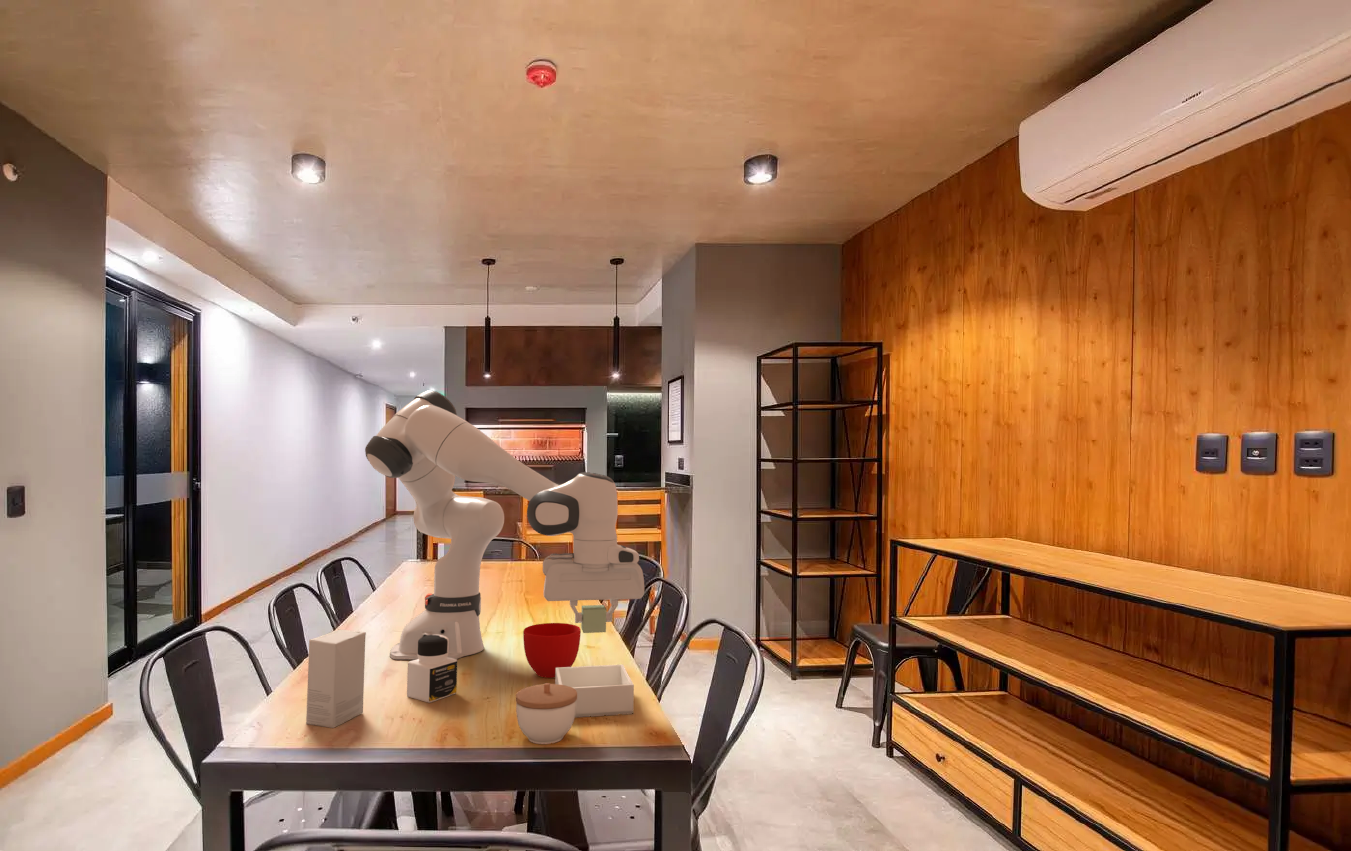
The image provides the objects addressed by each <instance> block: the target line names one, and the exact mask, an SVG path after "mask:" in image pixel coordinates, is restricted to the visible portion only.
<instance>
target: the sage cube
mask: <svg viewBox="0 0 1351 851" xmlns="http://www.w3.org/2000/svg"><path fill="white" fill-rule="evenodd" d="M581 612H582V614H583V618H582V619H583V623H580V626H581V627H580V629H581V632H582V634H594V633H606V632H607V622H606V612H607V608H606V607H605V605H604V604H593V605H592V604H591V605H589V604H588V605H587V604H586V605H581Z"/></svg>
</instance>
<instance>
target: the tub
mask: <svg viewBox="0 0 1351 851" xmlns="http://www.w3.org/2000/svg"><path fill="white" fill-rule="evenodd" d="M554 678H555V680H554V682H555V683H554V684H559V685H565V686H569V687H572V688H574V689H575V690H576V691H577V700H576V713H575V718H586V717H587V718H588V717H589V718H590V716H591V717H602V716H603V717H604V715H606V716H619V715H618V714H622V715H633V714H634V703H635V702H634V700H635V699H634V696H635V695H634V690H635V689H634V688H635V685H634V682H633V680H632V678H631V677H630V675H629V674H628V672H627V669H626V668H625V665H624V664H622V663H621V664H604V665H600V664H599V665H585V666H584V665H583V666H582V665H581V666H571V667H559V668H556V671H555V677H554ZM632 713H633V714H632Z"/></svg>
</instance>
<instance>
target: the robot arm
mask: <svg viewBox="0 0 1351 851" xmlns="http://www.w3.org/2000/svg"><path fill="white" fill-rule="evenodd" d="M364 452H365V457H366V459H367V461H368V462H369V464H370V465H371V467H372V468H373V469H374V470H375V471H377V472H378V474H379V473H380V474H381V475H383V476H385V477H387V478H389V479H390V478H392V479H393V478H394V479H399V480H400V483H402V484H403V485H404V487H405V488H406V490H407V491H408V492H409V494H410V495H411V496H412V497H413V500H414V501H415V504H416V506H415V508H414V511H413V523H414V525H415V528H416V529H417V531H418V532H420V533H422V534H424V535H427V536H429V537H433V538H438V539H450V540H451V541H450V546H449V548H448V551H447V553H446V554H445V555H443V556H441V557H440V558H439V559H438V560H437V561H436V563H435V564H434V572H433V573H434V577H433V579H434V580H433V593H431V592H430V593H427V594H426V595H425V597H424V610H423V611H422V612H421V613H420V614H418V615H416V616H415V617H414V618H412V619H411V620H410V621H408V623H407V624H406V625H404V628H402V631H401V634H400V639H399V643H396V644H394V645H393V646H392V647H391V648H390V651H389V657H390V658H391V659H392V660H416V659H419V658H418V640H419V639H420V638H422V637H424V636H427V635H443V636H446V637H447V638H448V639H449V645H448V656H447V657H449V658H453V659H457V660H459V659H460V658H463V657H466V656H471V655H475V654H477V653H480V652H481V651H483V650H484V649H485V645H484V641H483V638H482V637H483V636H482V631H481V626H480V625H481V623H480V614H481V610H482V609H481V608H482V607H481V606H482V597H481V592H480V577H481V576H480V575H481V574H480V573H481V564H482V560H483V556H484V554H485V551H486V550H487V548H488V546H489V544H490V542H491V541H492V540H494V539H495V538H496V537H497V536H498V535H499V534H500V533H501V531H502V530H503V527H504V525H505V524H504V523H505V513H504V510H503V507H502V506H501V505H500V503H498V502H497V501H494V500H493V499H492V500H491V499H488V498H485V497H482V496H467V495H466V496H465V495H459V494H456V493H455V492H454V491H453V488H454V485H455V481H456V477H457V478H458V479H462V480H464V481H468V482H475V483H476V482H477V483H483V484H484V483H485V484H492V485H497V486H501V487H504V488H507V489H509V490H510V491H513V492H514V493H516V494H518V496H521V497H522V498H523V499H526V500H527V501H528V504H527V507H526V508H527V509H526V519H527V521H528V524H529V526H530V527H531V528H532V529H533V530H534V531H535V532H537V533H538V534H540V535H543V536H547V537H556V536H559V535H564V534H567V533H570V534H572V535H573V541H572V542H573V544H572V548H573V549H572V550H573V552H569V553H567V552H566V553H550V555H548V556H546V557H544V559H543V561H542V574H543V575H544V576H545V578H544V582H543V583H544V584H543V598H544V599H545V600H546V601H547V602H560V601H561V602H566V601H567V602H569V605H570V608H571V609H572V611H573V613H574V623H575V624H581V623H583V619H582V618H583V614H582V611H581V612H578V610H577V608H576V607H577V606H578V605H579V604H578V601H599V600H600V601H604V600H605V601H606V600H608V601H609V604H610V608H608V611H606V623H612V622H613V614H614V613H615V611H616V609H617V607H618V606H619V600H640V599H642V597H643V596H644V595H645V579H644V572H643V569H642V567H641V565H639V563H638V562H639V561H640V555H639V552H637V551H636V550H635V549H633V548H630V547H627V546H625V545H620V544H618V535H617V530H616V525H617V524H616V523H617V521H618V520H617V519H618V514H619V512H618V493H617V486H616V483H615V482H614V480H613V479H612V478H611V477H609V476H607V475H604V474H600V473H596V472H595V473H594V472H586V471H585V472H580V473H578V474H577V475H576V476H575V477H573V478H572V479H569V480H568V481H566V482H564V483H558V482H556V481H554V480H551V479H550V478H548V477H546V476H545V475H543V474H542V473H541V472H538V471H537V470H535V469H533V468H532V467H530V466H528V465H527V464H525V463H523V462H522V461H520V460H519V459H518V458H516V457H515V456H514V455H512V454H511V453H510V452H508V451H507V450H505V449H504V448H502V447H501V446H500V445H499V444H498V443H497V442H495V441H494V440H493V439H492V438H490V437H489V436H488V435H487V434H485V433H484V432H482V431H481V429H479V428H478V427H476V426H474V425H473V424H471V423H470V422H468V421H467V420H465V419H463V418H462V417H460V416H459V415H458V414H457V409H456V407H455V405H453V403H452V402H451V400H449V398H447V397H446V396H445V395H443V394H442V393H441V392H438V391H435V390H429V389H428V390H425V391H423V392H421V393H419V394H418V395H416V396H415V397H414V398H413V400H411V401H410V402H408V403H407V404H406V405H404V406H403V407H402V408H400V409H399V410H398V411H397V412H396V413H395V414H393V416H392V418H391V419H389V421H387V423H385V425H384V426H382V428H381V429H380V430H379V431H378V433H376V435H374V436H372V437H371V438H370V440H369V441H368V442H367V444H366V446H365V448H364Z"/></svg>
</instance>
